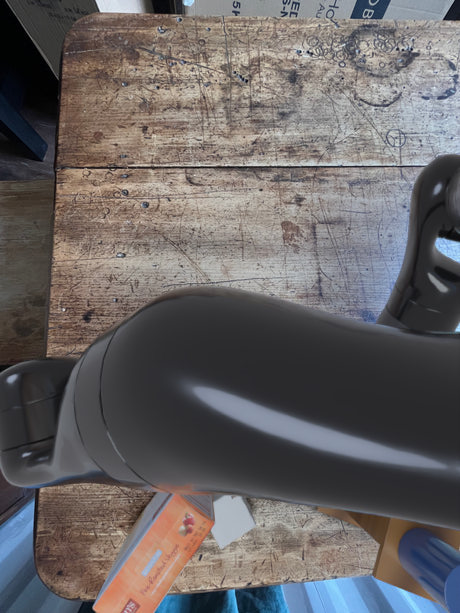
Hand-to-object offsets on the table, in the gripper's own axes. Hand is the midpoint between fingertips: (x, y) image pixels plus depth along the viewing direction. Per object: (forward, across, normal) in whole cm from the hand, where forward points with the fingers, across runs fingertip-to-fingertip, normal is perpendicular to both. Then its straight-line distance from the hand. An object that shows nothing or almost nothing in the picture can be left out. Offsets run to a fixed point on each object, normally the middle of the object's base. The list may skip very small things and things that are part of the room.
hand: (357, 440), depth 51 cm
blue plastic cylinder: (0, +3, -14) cm, 14 cm away
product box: (+18, -16, 0) cm, 24 cm away
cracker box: (+19, -25, 0) cm, 31 cm away
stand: (+16, +3, +2) cm, 16 cm away
